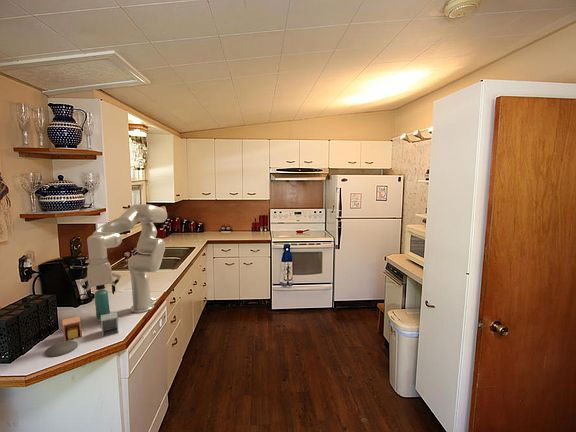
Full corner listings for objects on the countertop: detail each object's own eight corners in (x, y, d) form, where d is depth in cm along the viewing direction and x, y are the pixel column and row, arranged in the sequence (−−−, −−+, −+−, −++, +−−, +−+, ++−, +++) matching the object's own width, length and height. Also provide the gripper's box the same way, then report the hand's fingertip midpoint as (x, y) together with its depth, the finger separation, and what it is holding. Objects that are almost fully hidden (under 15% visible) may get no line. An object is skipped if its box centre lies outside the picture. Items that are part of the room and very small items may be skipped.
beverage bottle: (113, 317, 173) (110, 282, 170) (106, 323, 166) (103, 286, 164) (100, 318, 173) (97, 282, 170) (93, 323, 166) (90, 286, 163)
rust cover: (64, 335, 154) (62, 319, 153) (81, 331, 158) (79, 316, 157) (64, 341, 148) (62, 325, 147) (82, 336, 152) (80, 321, 151)
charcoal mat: (68, 340, 150) (68, 338, 149) (83, 346, 144) (83, 344, 144) (39, 352, 139) (39, 350, 139) (54, 359, 133) (53, 357, 133)
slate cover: (102, 330, 158) (100, 315, 157) (118, 327, 162) (116, 312, 161) (102, 336, 152) (100, 320, 151) (118, 332, 156) (117, 317, 155)
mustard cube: (68, 336, 154) (67, 328, 153) (77, 333, 156) (77, 325, 155) (68, 339, 150) (67, 331, 150) (78, 336, 153) (77, 329, 152)
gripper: (76, 265, 144) (80, 302, 146) (119, 259, 153) (122, 294, 155) (77, 262, 150) (80, 296, 152) (118, 256, 159) (121, 289, 161)
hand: (101, 295), depth 154 cm, fingers open, 9 cm apart
